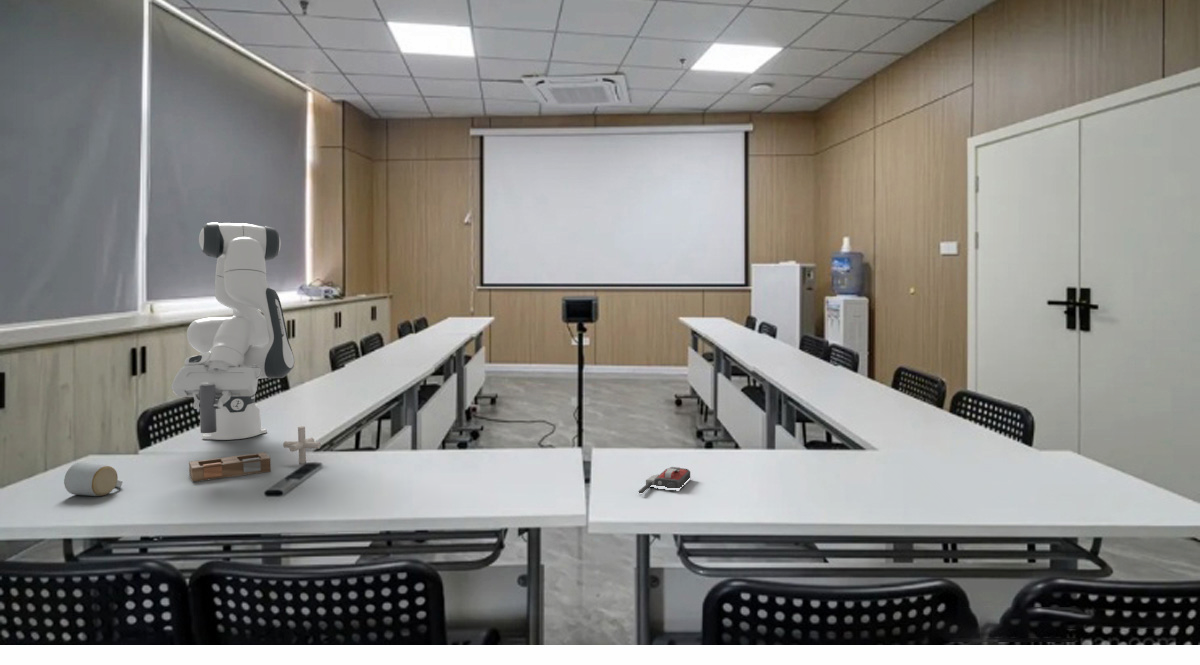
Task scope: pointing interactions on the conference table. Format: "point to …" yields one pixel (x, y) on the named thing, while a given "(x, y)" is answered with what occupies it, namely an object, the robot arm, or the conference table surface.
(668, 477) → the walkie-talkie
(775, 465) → the conference table surface
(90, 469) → the ceramic mug
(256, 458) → the socket strip
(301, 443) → the pipe connector
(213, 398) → the tall grey block
